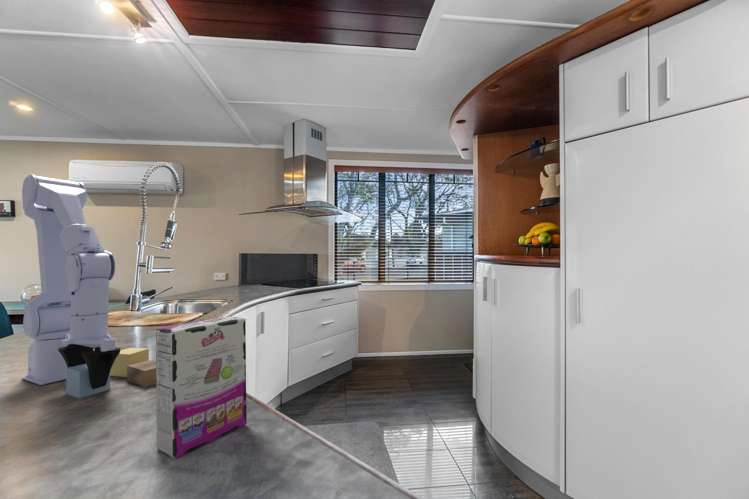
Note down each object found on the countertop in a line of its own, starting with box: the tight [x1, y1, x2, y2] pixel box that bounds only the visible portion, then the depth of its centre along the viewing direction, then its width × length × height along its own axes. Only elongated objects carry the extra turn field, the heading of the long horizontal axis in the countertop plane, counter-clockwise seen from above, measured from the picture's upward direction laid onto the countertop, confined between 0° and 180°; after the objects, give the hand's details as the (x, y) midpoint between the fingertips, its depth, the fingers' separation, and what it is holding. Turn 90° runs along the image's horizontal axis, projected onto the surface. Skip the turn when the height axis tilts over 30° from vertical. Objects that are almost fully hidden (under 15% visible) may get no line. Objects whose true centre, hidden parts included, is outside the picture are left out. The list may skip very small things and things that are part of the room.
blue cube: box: [65, 364, 111, 399], centre depth 67 cm, size 5×5×5 cm
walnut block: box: [126, 358, 157, 388], centre depth 74 cm, size 7×7×4 cm
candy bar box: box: [155, 315, 247, 460], centre depth 50 cm, size 11×5×16 cm, turn 148°
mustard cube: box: [110, 347, 150, 378], centre depth 78 cm, size 5×5×5 cm
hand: (88, 384), depth 67 cm, fingers open, 7 cm apart
